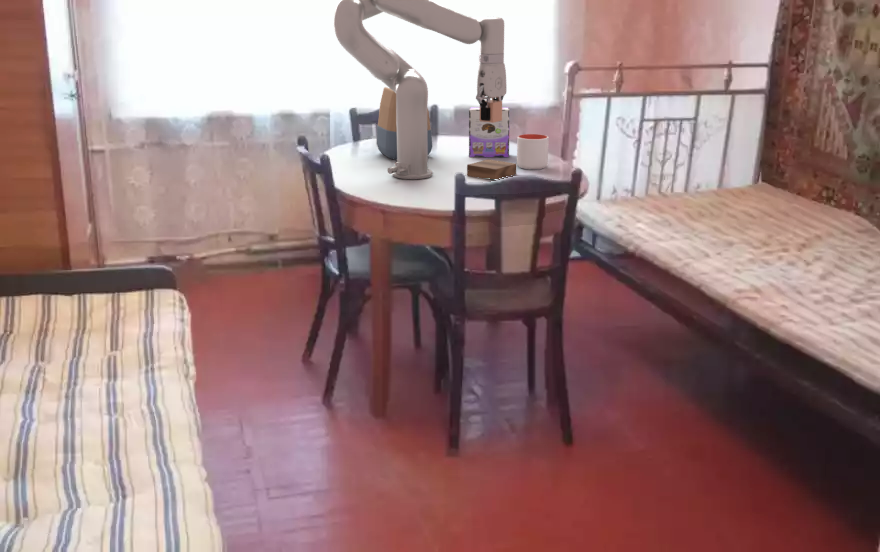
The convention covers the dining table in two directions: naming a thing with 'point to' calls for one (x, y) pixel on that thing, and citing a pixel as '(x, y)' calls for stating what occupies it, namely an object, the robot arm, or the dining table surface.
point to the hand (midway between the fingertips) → (490, 118)
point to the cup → (532, 151)
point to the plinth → (491, 169)
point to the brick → (494, 111)
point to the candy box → (489, 135)
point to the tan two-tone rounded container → (392, 126)
